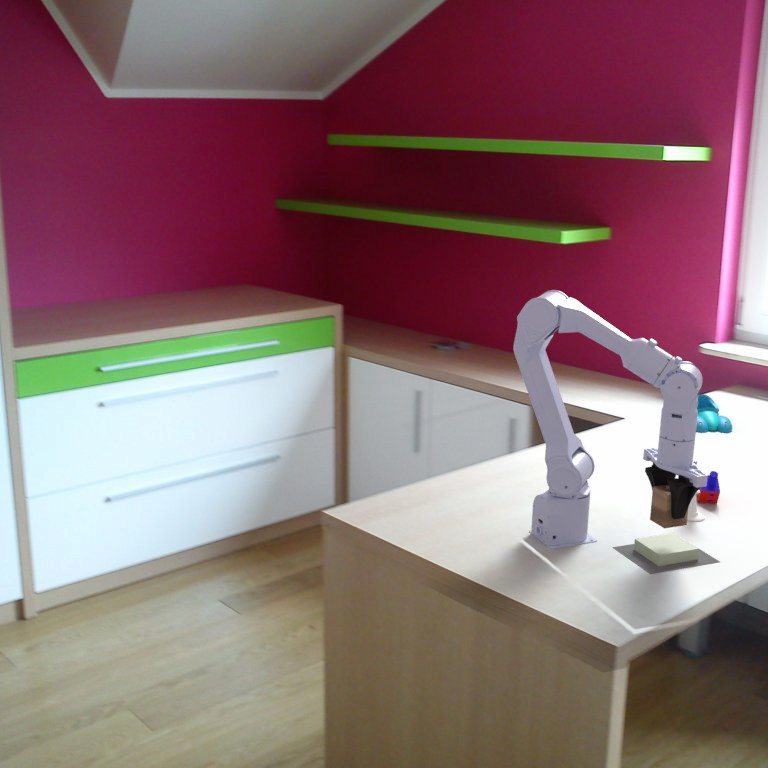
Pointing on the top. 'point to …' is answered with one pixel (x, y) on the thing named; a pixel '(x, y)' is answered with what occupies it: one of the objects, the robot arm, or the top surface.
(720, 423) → the toy car
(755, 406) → the top surface
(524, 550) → the top surface
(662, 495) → the walnut snap block
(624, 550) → the build mat
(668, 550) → the base block
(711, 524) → the top surface
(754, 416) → the top surface
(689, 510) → the chess piece
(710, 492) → the toy building block
